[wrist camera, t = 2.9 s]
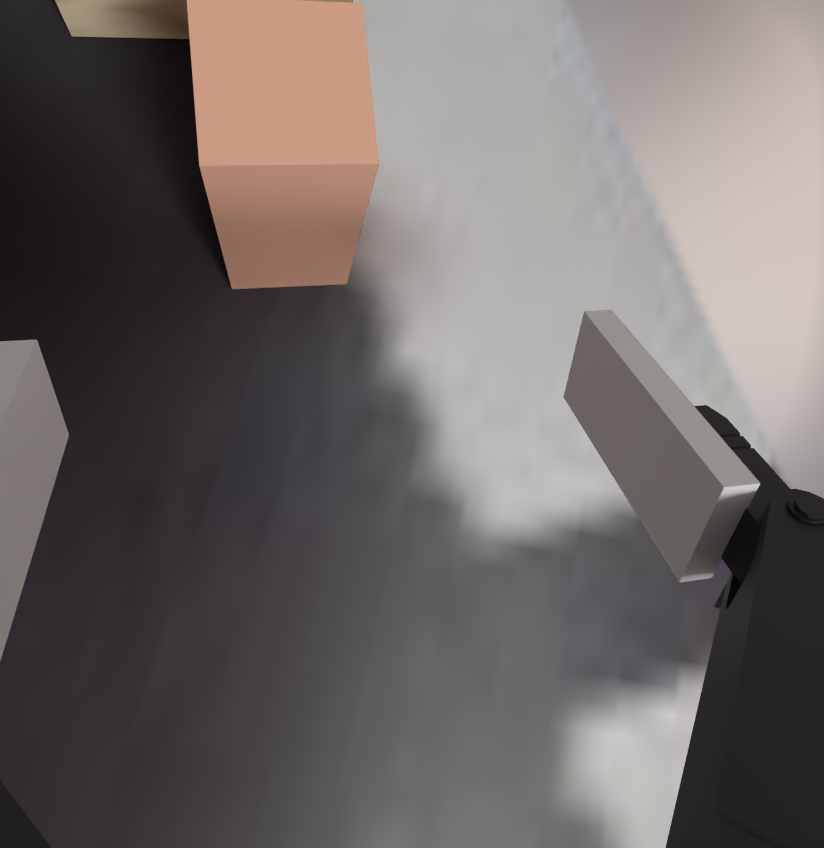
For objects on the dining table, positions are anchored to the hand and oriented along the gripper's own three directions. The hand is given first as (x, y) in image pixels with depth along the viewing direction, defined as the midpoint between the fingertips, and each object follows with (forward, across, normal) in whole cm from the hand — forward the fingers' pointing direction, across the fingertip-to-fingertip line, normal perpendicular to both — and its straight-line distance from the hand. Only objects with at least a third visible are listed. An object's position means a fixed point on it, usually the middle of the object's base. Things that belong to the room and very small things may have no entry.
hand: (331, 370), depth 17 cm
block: (+15, 0, -3) cm, 15 cm away
